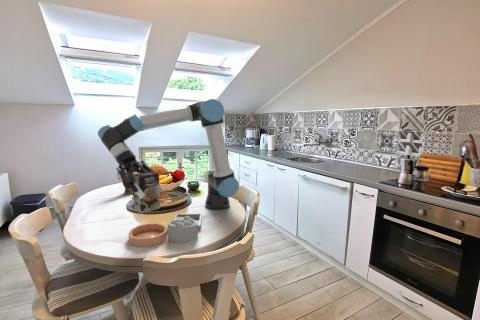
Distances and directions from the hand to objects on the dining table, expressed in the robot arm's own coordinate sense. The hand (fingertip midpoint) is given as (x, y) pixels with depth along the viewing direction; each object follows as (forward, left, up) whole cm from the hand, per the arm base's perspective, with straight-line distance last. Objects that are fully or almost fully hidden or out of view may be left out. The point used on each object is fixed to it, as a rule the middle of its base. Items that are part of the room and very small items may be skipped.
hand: (152, 193), depth 108 cm
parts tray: (-13, -15, -21) cm, 29 cm away
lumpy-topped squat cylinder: (-13, -1, -21) cm, 25 cm away
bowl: (+3, -1, -21) cm, 21 cm away
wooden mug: (+33, -70, -21) cm, 81 cm away
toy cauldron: (-13, -71, -21) cm, 75 cm away
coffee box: (+3, -1, -8) cm, 8 cm away
